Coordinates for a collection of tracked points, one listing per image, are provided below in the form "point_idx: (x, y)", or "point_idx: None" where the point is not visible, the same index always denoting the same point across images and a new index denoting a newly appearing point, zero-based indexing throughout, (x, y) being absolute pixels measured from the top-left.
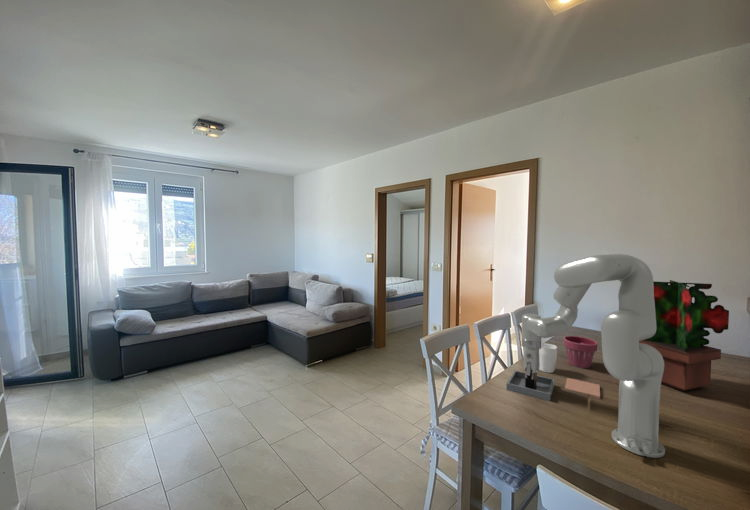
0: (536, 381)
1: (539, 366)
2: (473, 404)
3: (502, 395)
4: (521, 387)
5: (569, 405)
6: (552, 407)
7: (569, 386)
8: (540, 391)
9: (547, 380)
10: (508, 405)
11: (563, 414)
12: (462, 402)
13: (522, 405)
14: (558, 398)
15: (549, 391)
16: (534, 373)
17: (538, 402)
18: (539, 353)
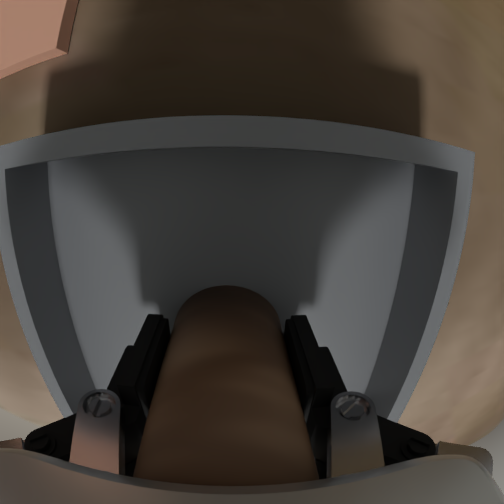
0: (231, 335)
1: (17, 462)
2: (481, 424)
3: (408, 412)
4: (410, 393)
5: (367, 4)
6: (465, 134)
7: (13, 39)
8: (454, 248)
9: (25, 214)
10: (490, 355)
11: (498, 82)
12: (470, 443)
13: (487, 308)
14: (283, 68)
15: (422, 152)
16: (300, 460)
17: None
18: None
